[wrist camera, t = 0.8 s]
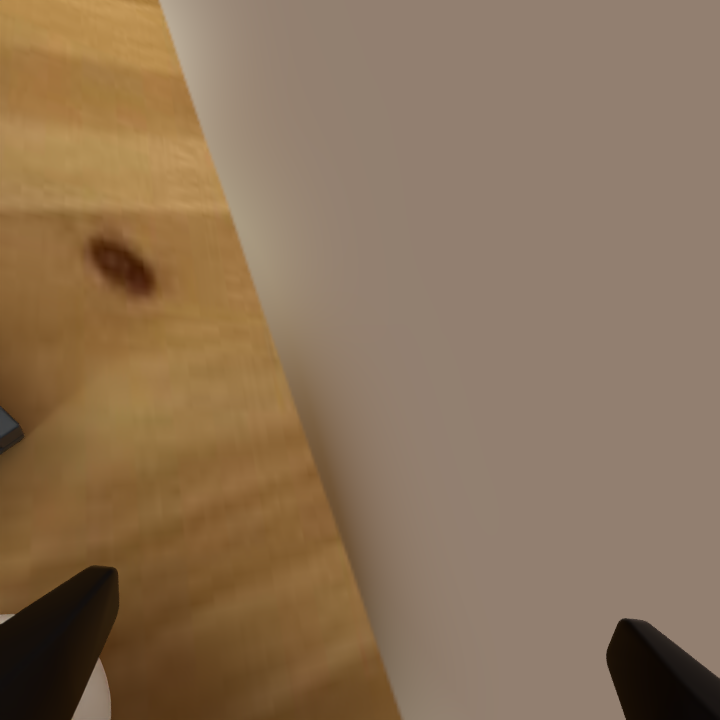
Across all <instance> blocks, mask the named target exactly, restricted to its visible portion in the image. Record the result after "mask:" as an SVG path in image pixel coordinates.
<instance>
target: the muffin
mask: <svg viewBox="0 0 720 720" xmlns="http://www.w3.org/2000/svg"><path fill="white" fill-rule="evenodd" d="M14 615H15V614H3V615H0V624H2V623H3V622H5V621H6V620H8V619H9V618H11V617H12V616H14ZM71 720H111V698H110V690H109V685H108V681H107V677H106V674H105V671H104V668H103V665H102V663H101V660H100V658H98V661H97V663H96V665H95V668H94V670H93V672H92V674H91V677H90V679H89V681H88V684H87V686H86V688H85V691H84V693H83V695H82V697H81V700H80V702H79V704H78V706H77V709H76V711H75V713H74V715H73V717H72V719H71Z"/></svg>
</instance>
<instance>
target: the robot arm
mask: <svg viewBox="0 0 720 720" xmlns="http://www.w3.org/2000/svg"><path fill="white" fill-rule="evenodd" d="M118 609H119V585H118V572H117V570H116V568H114V567H107V566H97V565H93V566H90V567H88V568H86V569H84V570H83V571H81V572H80V573H78V574H77V575H75V576H74V577H72V578H71V579H69V580H68V581H66V582H64V583H63V584H61V585H60V586H58V587H57V588H55V589H54V590H52V591H51V592H49V593H48V594H46V595H45V596H43V597H41V598H40V599H38V600H37V601H35V602H34V603H32V604H31V605H29V606H28V607H26V608H25V609H23V610H22V611H20V612H19V613H17V614H15V615H14V616H12V617H11V618H9V619H8V620H6V621H5V622H3V623H2V624H0V720H71V719H72V717H73V715H74V713H75V711H76V709H77V706H78V704H79V702H80V700H81V697H82V695H83V693H84V691H85V688H86V686H87V684H88V681H89V679H90V677H91V674H92V672H93V670H94V668H95V665H96V663H97V661H98V658H99V656H100V654H101V652H102V649H103V647H104V645H105V642H106V640H107V638H108V635H109V633H110V631H111V629H112V626H113V624H114V622H115V619H116V617H117V613H118ZM606 659H607V665H608V668H609V671H610V674H611V677H612V680H613V683H614V686H615V689H616V692H617V695H618V697H619V700H620V703H621V706H622V709H623V712H624V715H625V718H626V720H720V678H718V677H717V676H716V675H714V674H713V673H712V672H711V671H709V670H708V669H707V668H706V667H704V666H703V665H702V664H700V663H699V662H698V661H697V660H695V659H694V658H693V657H692V656H690V655H689V654H688V653H686V652H685V651H684V650H683V649H681V648H680V647H679V646H678V645H676V644H675V643H674V642H672V641H671V640H670V639H669V638H667V637H666V636H665V635H663V634H662V633H661V632H660V631H658V630H657V629H656V628H655V627H653V626H652V625H651V624H649V623H648V622H646V621H643V620H637V619H627V618H625V619H622V620H620V621H619V623H618V624H617V627H616V629H615V632H614V634H613V636H612V639H611V641H610V644H609V646H608V649H607V654H606Z"/></svg>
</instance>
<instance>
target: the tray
mask: <svg viewBox="0 0 720 720" xmlns="http://www.w3.org/2000/svg"><path fill="white" fill-rule="evenodd" d="M24 437H25V435H24V433H23V431H22V429H21V427H20V425H19V423H18V422H17V421H16V420H15V419H13V418H12V417H11V416H10V415H9V414H8V413H7V412H6V411H5V410H4V409H3V408H2V407H1V406H0V454H2V453H3V452H4V451H6V450H7V449H9V448H10V447H12V446H13V445H15V444H16V443H17V442H19V441H20V440H22V439H23V438H24Z"/></svg>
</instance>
